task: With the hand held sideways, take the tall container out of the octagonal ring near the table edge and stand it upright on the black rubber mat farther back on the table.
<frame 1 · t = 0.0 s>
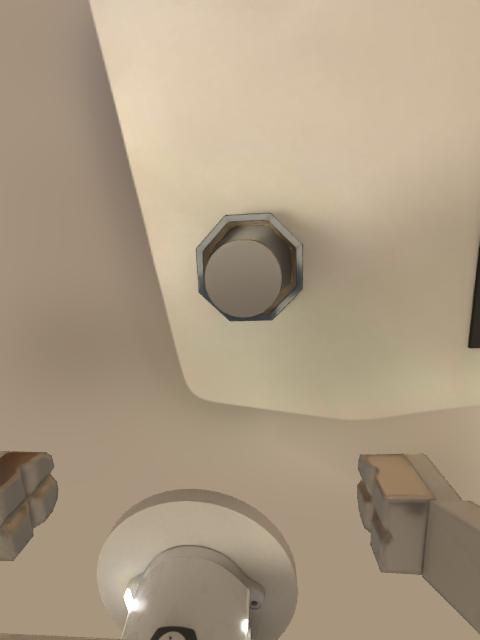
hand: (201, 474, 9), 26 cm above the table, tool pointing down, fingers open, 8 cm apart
octagonal ring: (251, 266, 33), on the table
container: (251, 266, 33), resting in octagonal ring
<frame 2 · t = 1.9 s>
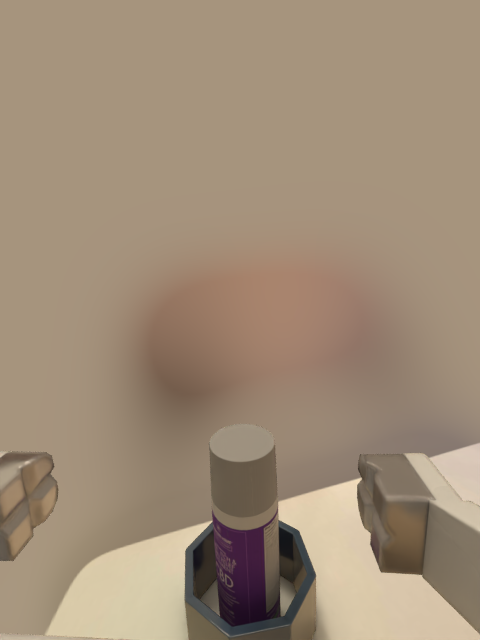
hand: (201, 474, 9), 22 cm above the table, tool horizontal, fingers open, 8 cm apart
octagonal ring: (250, 614, 25), on the table
container: (250, 616, 25), resting in octagonal ring
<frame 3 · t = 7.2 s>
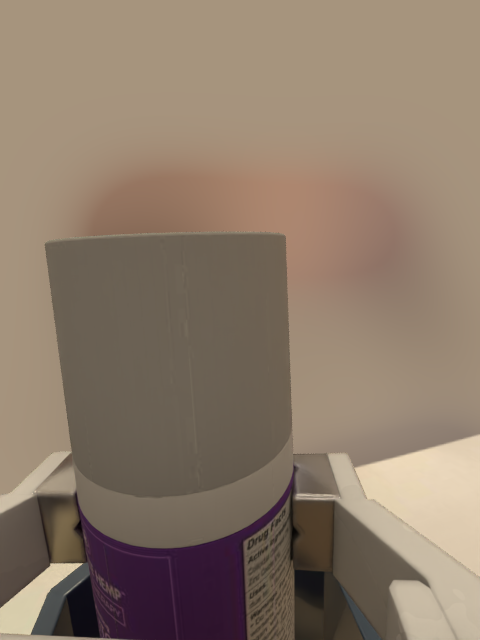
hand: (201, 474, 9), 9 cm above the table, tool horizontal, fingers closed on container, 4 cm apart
when the fingers open (9 cm above the table, at t = 16.5 s): container stays where it is, resting on mat.
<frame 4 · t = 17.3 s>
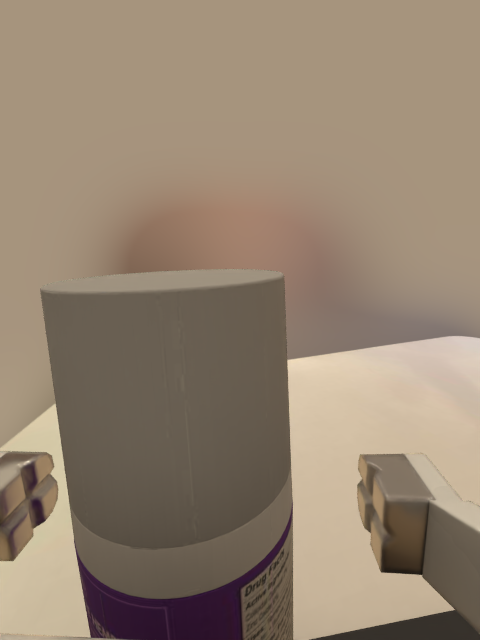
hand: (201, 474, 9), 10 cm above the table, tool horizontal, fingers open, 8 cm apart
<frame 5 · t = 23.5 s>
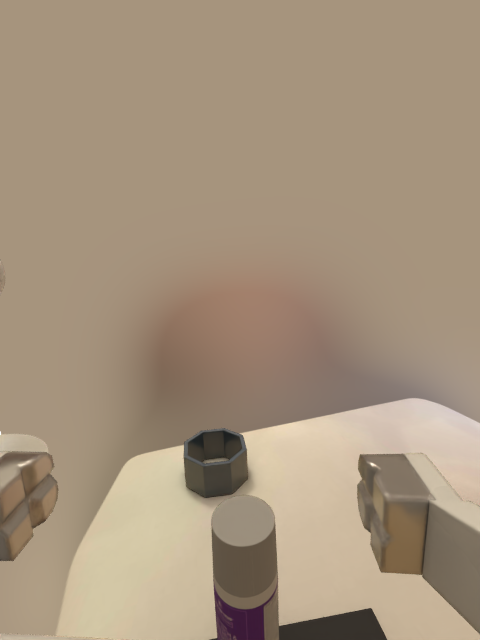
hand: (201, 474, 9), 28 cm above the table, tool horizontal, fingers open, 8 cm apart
octagonal ring: (216, 474, 50), on the table
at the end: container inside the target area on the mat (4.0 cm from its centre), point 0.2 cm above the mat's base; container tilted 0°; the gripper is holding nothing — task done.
